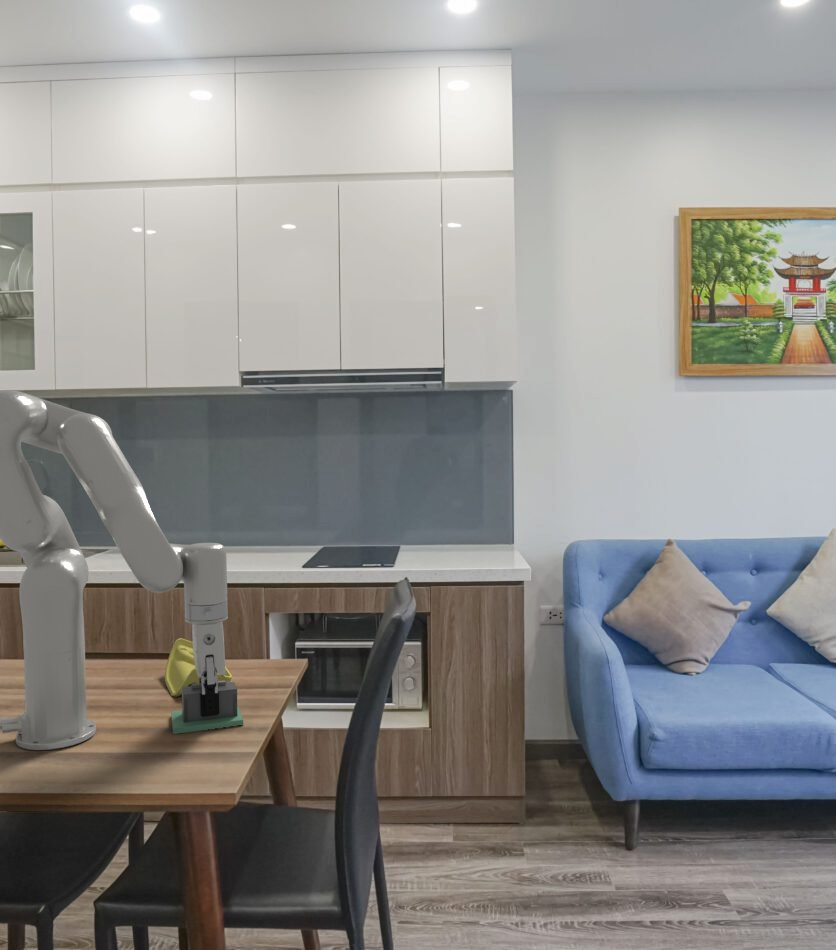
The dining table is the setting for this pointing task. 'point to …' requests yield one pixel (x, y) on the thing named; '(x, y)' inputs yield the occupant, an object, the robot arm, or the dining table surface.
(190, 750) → the dining table surface
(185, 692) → the plug
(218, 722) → the header
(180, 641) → the plastic component
